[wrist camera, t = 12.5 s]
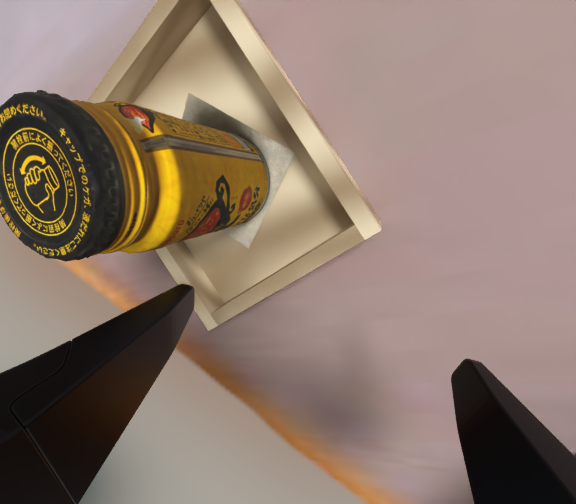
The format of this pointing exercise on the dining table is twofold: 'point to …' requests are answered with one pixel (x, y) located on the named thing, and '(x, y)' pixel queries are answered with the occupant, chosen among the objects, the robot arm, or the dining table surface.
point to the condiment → (130, 175)
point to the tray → (261, 117)
